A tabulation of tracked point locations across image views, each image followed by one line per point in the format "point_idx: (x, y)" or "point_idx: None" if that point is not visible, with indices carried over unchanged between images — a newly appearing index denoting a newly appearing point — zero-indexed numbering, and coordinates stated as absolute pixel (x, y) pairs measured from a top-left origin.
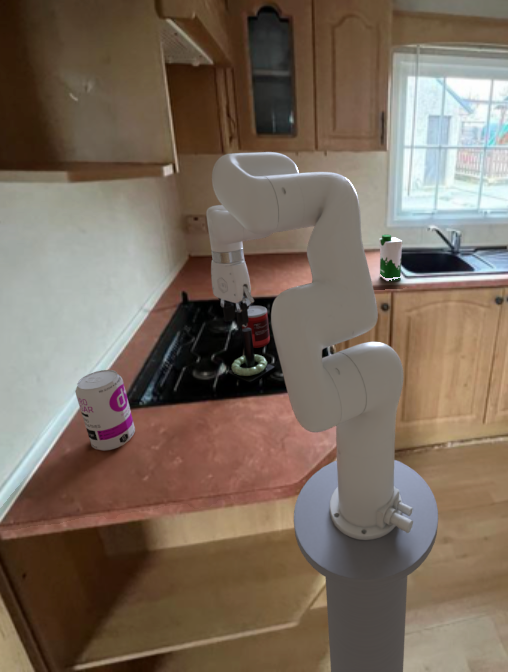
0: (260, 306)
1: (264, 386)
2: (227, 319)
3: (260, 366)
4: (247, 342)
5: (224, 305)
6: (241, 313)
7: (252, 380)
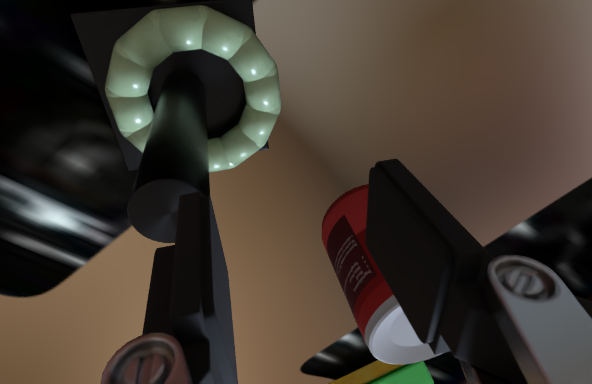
0: (431, 356)
1: (28, 55)
2: (376, 182)
3: (118, 117)
4: (147, 147)
5: (488, 290)
6: (153, 332)
7: (77, 33)
